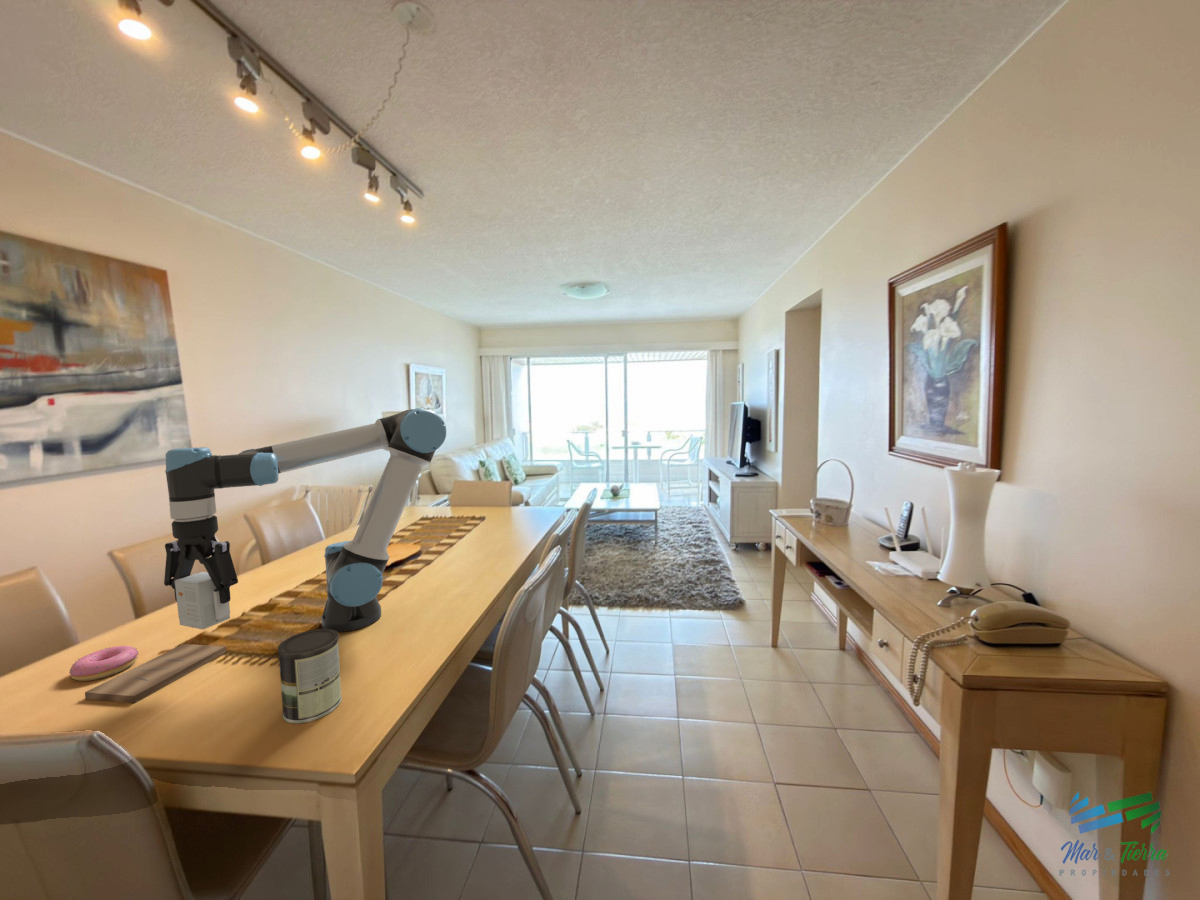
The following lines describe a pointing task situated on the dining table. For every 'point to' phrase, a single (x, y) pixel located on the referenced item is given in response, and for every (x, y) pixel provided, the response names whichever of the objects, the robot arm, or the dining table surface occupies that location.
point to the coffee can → (310, 675)
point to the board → (155, 673)
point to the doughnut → (103, 663)
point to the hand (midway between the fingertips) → (204, 615)
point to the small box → (197, 601)
